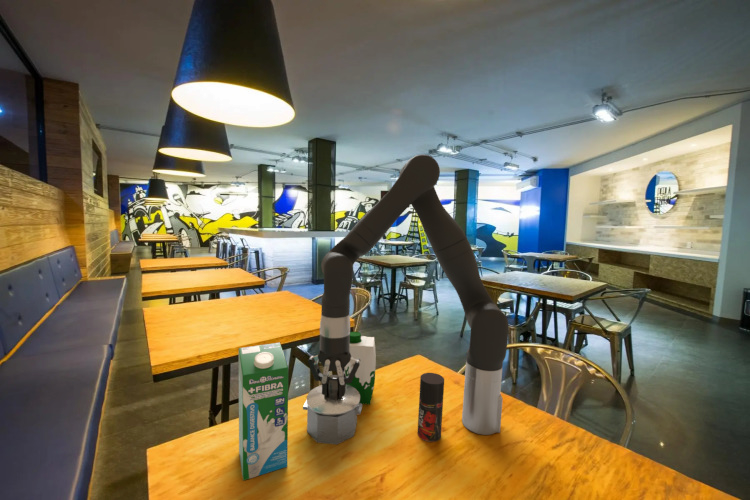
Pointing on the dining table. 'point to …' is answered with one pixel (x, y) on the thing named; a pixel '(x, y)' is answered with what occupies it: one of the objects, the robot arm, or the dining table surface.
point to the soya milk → (362, 365)
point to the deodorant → (430, 407)
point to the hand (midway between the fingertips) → (333, 395)
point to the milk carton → (263, 409)
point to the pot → (331, 425)
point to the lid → (333, 398)
